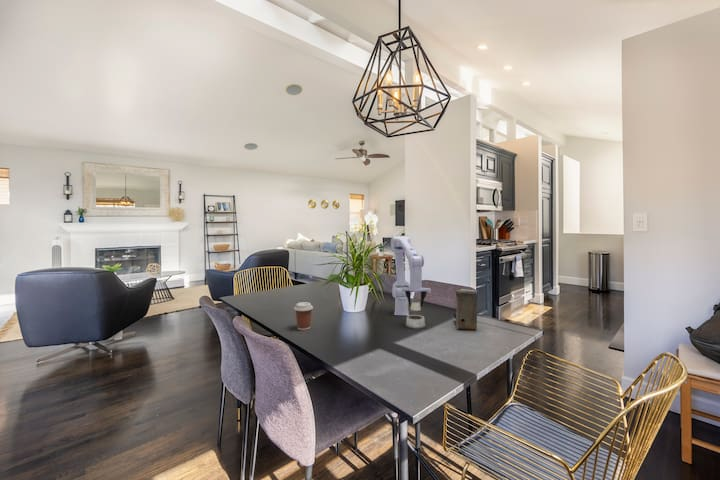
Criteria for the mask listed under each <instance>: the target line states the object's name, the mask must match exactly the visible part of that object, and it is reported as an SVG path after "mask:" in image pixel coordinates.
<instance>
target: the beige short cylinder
mask: <svg viewBox="0 0 720 480" xmlns="http://www.w3.org/2000/svg"><path fill="white" fill-rule="evenodd" d="M410 302H411V307H410V311H414V312H416V311H417V312H418V311H421V308H422V307H421V300H416V299H415V300H410Z"/></svg>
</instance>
